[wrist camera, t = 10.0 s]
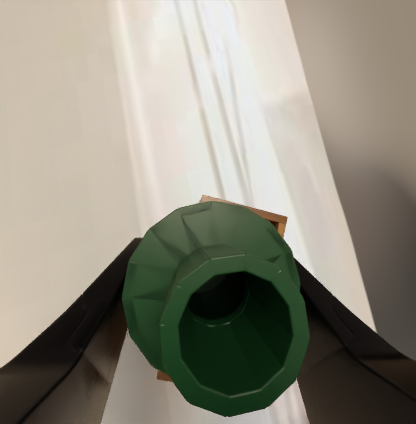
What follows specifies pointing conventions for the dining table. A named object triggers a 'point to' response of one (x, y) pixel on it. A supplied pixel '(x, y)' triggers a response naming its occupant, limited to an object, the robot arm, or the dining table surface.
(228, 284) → the bottle
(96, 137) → the dining table surface
